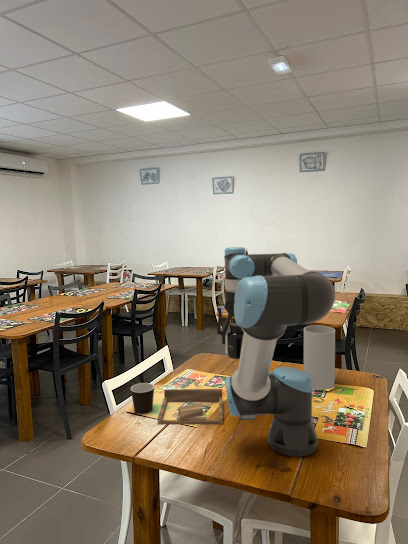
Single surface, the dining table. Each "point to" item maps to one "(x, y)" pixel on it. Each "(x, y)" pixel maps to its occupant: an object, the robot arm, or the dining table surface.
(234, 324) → the supplement bottle
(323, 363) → the cylinder vase
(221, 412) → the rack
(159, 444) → the dining table surface
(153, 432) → the dining table surface
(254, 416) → the mat
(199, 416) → the offcut lower
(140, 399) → the coffee mug
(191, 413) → the offcut upper
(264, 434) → the dining table surface
